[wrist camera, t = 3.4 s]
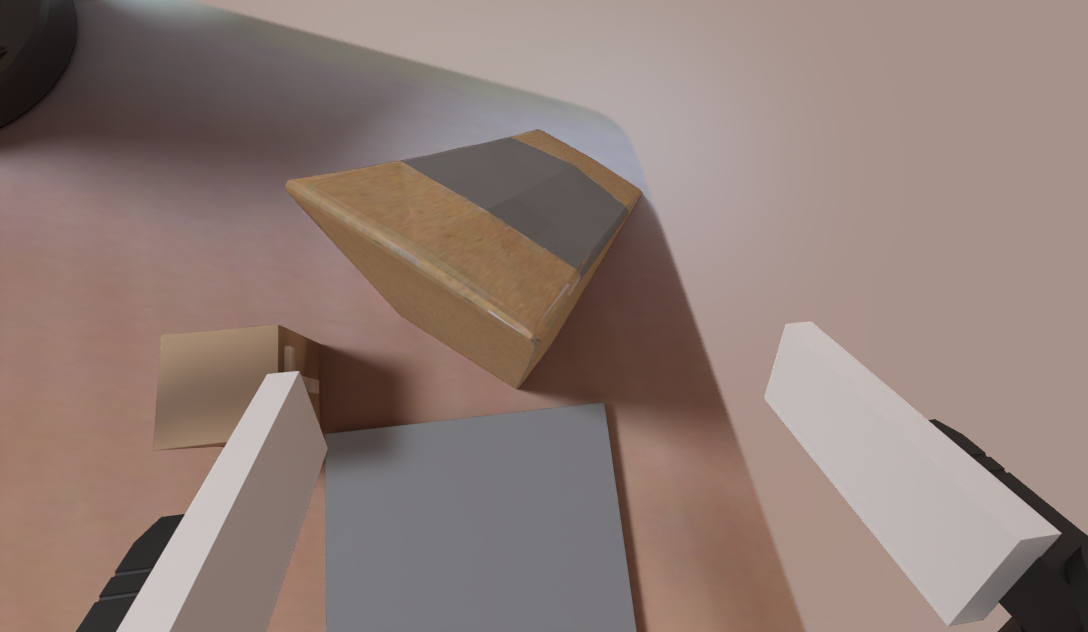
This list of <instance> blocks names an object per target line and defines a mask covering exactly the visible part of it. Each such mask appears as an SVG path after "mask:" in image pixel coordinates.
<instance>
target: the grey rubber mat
mask: <svg viewBox="0 0 1088 632" xmlns="http://www.w3.org/2000/svg"><path fill="white" fill-rule="evenodd" d="M325 442H326V445H327V447H328V449H327V452H326V455H325V502H326V632H637V631H636V624H635V617H634V610H633V603H632V596H631V589H630V582H629V574H628V567H627V560H626V553H625V546H624V539H623V532H622V525H621V518H620V511H619V504H618V497H617V490H616V483H615V476H614V469H613V462H612V455H611V447H610V440H609V433H608V426H607V419H606V412H605V405H604V402H603V403H594V404H585V405H576V406H567V407H559V408H550V409H541V410H532V411H523V412H515V413H506V414H497V415H488V416H479V417H471V418H462V419H453V420H444V421H435V422H426V423H418V424H409V425H400V426H391V427H382V428H374V429H365V430H356V431H347V432H338V433H330V434H325Z"/></svg>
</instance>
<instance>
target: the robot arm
mask: <svg viewBox="0 0 1088 632" xmlns="http://www.w3.org/2000/svg"><path fill="white" fill-rule="evenodd" d="M75 37H76V15H75V10H74V6H73V3H72V0H0V127H1V126H3V125H5V124H6V123H8V122H10V121H12V120H13V119H15V118H16V117H18V116H19V115H21V114H22V113H24V112H25V111H26V110H28V109H29V108H30V107H31V106H33V105H34V104H35V103H36V102H37V101H38V100H40V99H41V98H42V97H43V96H44V95H45V94H46V93H47V91H48V90H49V89H50V88H51V87H52V86H53V85H54V83H55V82H56V81H57V79H58V78H59V76H60V75H61V73H62V72H63V70H64V68H65V67H66V65H67V63H68V60H69V58H70V56H71V53H72V50H73V47H74V43H75ZM764 399H765V400H766V401H767V403H768V404H769V405H770V406H771V408H772V409H773V410H774V411H775V413H776V414H777V415H778V416H779V418H780V419H781V420H782V421H783V423H784V424H785V425H786V426H787V427H788V429H789V430H790V431H791V432H792V434H793V435H794V436H795V437H796V439H797V440H798V441H799V442H800V444H801V445H802V446H803V447H804V448H805V450H806V451H807V452H808V454H809V455H810V456H811V457H812V459H813V460H814V461H815V462H816V463H817V465H818V466H819V467H820V468H821V470H822V471H823V472H824V473H825V475H826V476H827V477H828V478H829V480H830V481H831V482H832V483H833V484H834V486H835V487H836V488H837V490H838V491H839V492H840V493H841V494H842V496H843V497H844V498H845V499H846V501H847V502H848V503H849V504H850V506H851V507H852V508H853V509H854V511H855V512H856V513H857V514H858V516H859V517H860V518H861V519H862V520H863V522H864V523H865V524H866V525H867V527H868V528H869V529H870V530H871V531H872V533H873V534H874V535H875V536H876V538H877V539H878V540H879V542H880V543H881V544H882V545H883V546H884V548H885V549H886V550H887V551H888V553H889V554H890V555H891V556H892V558H893V559H894V560H895V561H896V563H897V564H898V565H899V566H900V567H901V569H902V570H903V571H904V573H905V574H906V575H907V576H908V578H909V579H910V580H911V581H912V583H913V584H914V585H915V586H916V587H917V589H918V590H919V591H920V592H921V594H922V595H923V596H924V597H925V599H926V600H927V601H928V602H929V604H930V605H931V606H932V607H933V608H934V610H935V611H936V612H937V614H938V615H939V616H940V617H941V618H942V620H943V621H944V622H945V623H946V625H947V626H952V625H958V624H964V623H969V622H975V621H981V620H984V618H986V616H987V615H988V614H989V613H990V612H991V611H992V610H993V609H994V608H995V606H996V605H997V604H998V603H1000V604H1001V605H1002V606H1003V607H1004V608H1005V609H1006V610H1007V612H1008V613H1009V614H1010V615H1011V616H1012V617H1011V618H1010V619H1009V621H1007V622H1006V623H1005V625H1004V626H1003V627H1002V628H1001V629H1000V630H999V631H998V632H1088V536H1087V535H1086V534H1085V533H1083V532H1082V531H1081V530H1080V529H1078V528H1077V527H1076V526H1075V525H1073V524H1072V523H1071V522H1070V521H1068V520H1067V519H1066V518H1065V517H1063V516H1062V515H1061V514H1060V513H1059V512H1057V511H1056V510H1055V509H1054V508H1053V507H1051V506H1050V505H1049V504H1048V503H1046V502H1045V501H1044V500H1043V499H1041V498H1040V497H1039V496H1038V495H1037V494H1035V493H1034V492H1033V491H1032V490H1030V489H1029V488H1028V487H1027V486H1026V485H1024V484H1023V483H1022V482H1020V481H1019V480H1018V479H1017V478H1016V477H1014V476H1013V475H1012V474H1011V473H1006V472H1005V470H1004V468H1003V467H1002V466H1001V465H1000V464H998V463H997V462H996V461H995V460H994V459H992V458H991V457H987V456H986V455H985V452H984V451H983V450H981V449H980V448H979V447H978V446H976V445H975V444H974V443H973V442H971V441H970V440H969V439H968V438H967V437H965V436H964V435H963V434H961V433H959V432H957V431H956V430H954V429H952V428H950V427H948V426H946V425H944V424H943V423H941V422H939V421H937V420H935V419H934V420H927V419H926V418H925V417H924V416H922V415H921V414H920V413H919V412H917V411H916V410H915V409H914V408H913V407H912V406H911V405H909V404H908V403H907V402H906V401H904V400H903V399H902V398H901V397H900V396H899V395H898V394H896V393H895V392H894V391H893V390H892V389H890V388H889V387H888V386H887V385H886V384H884V383H883V382H882V381H881V380H880V379H879V378H877V377H876V376H875V375H874V374H873V373H871V372H870V371H869V370H868V369H867V368H866V367H864V366H863V365H862V364H861V363H860V362H858V361H857V360H856V359H855V358H853V357H852V356H851V355H850V354H849V353H848V352H847V351H845V350H844V349H843V348H842V347H841V346H839V345H838V344H837V343H836V342H835V341H833V340H832V339H831V338H830V337H829V336H827V334H825V333H824V332H823V331H822V330H820V329H819V328H818V327H817V326H816V325H815V324H813V323H812V322H811V321H810V322H800V323H790V324H786V325H785V329H784V332H783V335H782V339H781V342H780V345H779V349H778V352H777V356H776V359H775V362H774V366H773V369H772V373H771V376H770V380H769V383H768V386H767V389H766V393H765V396H764ZM327 449H328V447H327V445H326V442H325V439H324V437H323V434H322V431H321V428H320V426H319V423H318V420H317V418H316V415H315V412H314V409H313V407H312V404H311V401H310V399H309V396H308V393H307V390H306V388H305V385H304V382H303V380H302V377H301V374H300V372H299V371H293V372H283V373H273V374H267V375H266V377H265V379H264V381H263V382H262V384H261V386H260V387H259V389H258V391H257V392H256V394H255V396H254V398H253V399H252V401H251V403H250V404H249V406H248V408H247V410H246V411H245V413H244V415H243V416H242V418H241V420H240V421H239V423H238V425H237V427H236V428H235V430H234V432H233V433H232V435H231V437H230V439H229V440H228V442H227V444H226V445H225V447H224V449H223V450H222V452H221V454H220V456H219V457H218V459H217V461H216V462H215V464H214V466H213V468H212V469H211V471H210V473H209V474H208V476H207V478H206V479H205V481H204V483H203V485H202V486H201V488H200V490H199V491H198V493H197V495H196V496H195V498H194V500H193V502H192V503H191V505H190V507H189V508H188V510H187V512H186V514H182V515H174V516H166V517H161V518H160V519H159V520H158V521H157V522H156V523H154V524H153V525H152V526H151V527H150V528H149V529H148V530H147V531H146V532H145V533H144V534H143V535H142V536H141V537H140V538H139V539H138V540H136V541H135V542H134V544H133V545H132V547H131V548H130V550H129V551H128V553H127V554H126V556H125V557H124V559H123V560H122V562H121V563H120V565H119V566H118V568H117V570H116V571H115V576H114V577H111V579H110V580H109V582H108V583H107V585H106V586H105V588H104V589H103V591H102V592H101V594H100V596H99V597H100V599H99V601H98V602H95V603H94V605H93V606H92V608H91V609H90V611H89V612H88V614H87V615H86V617H85V618H84V620H83V622H82V623H81V625H80V626H79V628H78V629H77V631H76V632H266V630H267V627H268V624H269V621H270V618H271V615H272V612H273V609H274V606H275V603H276V600H277V597H278V594H279V591H280V588H281V585H282V582H283V580H284V577H285V574H286V571H287V568H288V565H289V562H290V559H291V556H292V553H293V550H294V547H295V544H296V541H297V538H298V535H299V532H300V529H301V526H302V523H303V520H304V517H305V514H306V511H307V508H308V505H309V502H310V499H311V496H312V493H313V491H314V488H315V485H316V482H317V479H318V476H319V473H320V470H321V467H322V464H323V461H324V458H325V455H326V452H327Z"/></svg>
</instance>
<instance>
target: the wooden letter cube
mask: <svg viewBox="0 0 1088 632" xmlns="http://www.w3.org/2000/svg"><path fill="white" fill-rule="evenodd" d="M293 371H299V372H300V374H301V377H302V380H303V382H304V385H305V388H306V390H307V393H308V396H309V399H310V401H311V404H312V407H313V409H314V412H315V415H316V418H317V420H318V423H319V426H320V380H319V343H317V342H315V341H312V340H310V339H308V338H306V337H304V336H302V335H300V334H297V333H295V332H293V331H291V330H289V329H287V328H285V327H282V326H280V325H268V326H257V327H246V328H235V329H224V330H214V331H203V332H192V333H181V334H170V335H161V342H160V357H159V372H158V386H157V401H156V416H155V430H154V445H153V450H170V449H187V448H204V447H221V446H225V445H226V444H227V442H228V440H229V439H230V437H231V435H232V433H233V432H234V430H235V428H236V427H237V425H238V423H239V421H240V420H241V418H242V416H243V415H244V413H245V411H246V410H247V408H248V406H249V404H250V403H251V401H252V399H253V398H254V396H255V394H256V392H257V391H258V389H259V387H260V386H261V384H262V382H263V381H264V379H265V377H266V375H267V374H273V373H283V372H293Z"/></svg>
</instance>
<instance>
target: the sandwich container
mask: <svg viewBox="0 0 1088 632" xmlns="http://www.w3.org/2000/svg"><path fill="white" fill-rule="evenodd" d="M285 188H286V191H287V192H288V193H289V194H290V195H291V196H292V197H293V198H294V200H295V201H296V202H297V203H298V204H299V205H300V206H301V207H302V208H303V209H304V211H305V212H306V213H307V214H308V215H309V216H310V217H311V218H312V219H313V220H314V222H315V223H316V224H317V225H318V226H319V227H320V228H321V229H322V230H323V231H324V233H325V234H326V235H327V236H328V237H329V238H330V239H331V240H332V241H333V242H334V244H335V245H336V246H337V247H338V248H339V249H340V250H341V251H342V252H343V253H344V255H345V256H346V257H347V258H348V259H349V260H350V261H351V262H352V263H353V264H354V266H355V267H356V268H357V269H358V270H359V271H360V272H361V273H362V274H363V275H364V277H365V278H366V279H367V280H368V281H369V282H370V283H371V284H372V285H373V286H374V288H375V289H376V290H377V291H378V292H379V293H380V294H381V295H382V296H383V297H384V298H385V300H386V301H387V302H388V303H389V304H390V305H391V306H392V307H393V308H394V309H395V310H396V311H397V313H398V314H399V315H400V316H402V317H403V318H405V319H406V320H408V321H410V322H411V323H413V324H414V325H416V326H417V327H419V328H420V329H422V330H424V331H425V332H427V333H428V334H430V335H431V336H433V337H435V338H436V339H438V340H439V341H441V342H442V343H444V344H446V345H447V346H449V347H450V348H452V349H453V350H455V351H456V352H458V353H460V354H461V355H463V356H464V357H466V358H467V359H469V360H471V361H472V362H474V363H475V364H477V365H479V366H480V367H482V368H483V369H485V370H486V371H488V372H490V373H491V374H493V375H494V376H496V377H498V378H499V379H501V380H502V381H504V382H506V383H507V384H509V385H510V386H512V387H513V388H515V389H517V388H519V387H520V386H521V385H522V384H523V382H524V381H525V379H526V378H527V377H528V375H529V374H530V373H531V371H532V370H533V369H534V367H535V366H536V365H537V363H538V362H539V360H540V359H541V358H542V356H543V355H544V354H545V352H546V351H547V350H548V348H549V347H550V346H551V344H552V343H553V341H554V339H555V338H556V336H557V334H558V333H559V331H560V329H561V328H562V326H563V325H564V323H565V321H566V320H567V318H568V316H569V315H570V313H571V311H572V310H573V308H574V307H575V305H576V303H577V302H578V300H579V298H580V297H581V295H582V293H583V292H584V290H585V288H586V286H587V285H588V283H589V281H590V280H591V278H592V276H593V275H594V273H595V271H596V270H597V268H598V266H599V265H600V263H601V261H602V260H603V258H604V256H605V255H606V253H607V251H608V250H609V248H610V246H611V245H612V243H613V241H614V240H615V238H616V236H617V235H618V233H619V231H620V230H621V228H622V226H623V225H624V223H625V221H626V220H627V218H628V216H629V215H630V213H631V211H632V210H633V208H634V206H635V205H636V203H637V201H638V200H639V198H640V196H641V195H642V191H641V190H640V189H638V188H637V187H635V186H634V185H632V184H631V183H629V182H628V181H626V180H624V179H623V178H621V177H620V176H618V175H617V174H615V173H614V172H612V171H611V170H609V169H607V168H606V167H604V166H603V165H601V164H600V163H598V162H597V161H595V160H593V159H592V158H590V157H588V156H587V155H585V154H583V153H581V152H579V151H578V150H576V149H574V148H572V147H570V146H569V145H567V144H565V143H563V142H561V141H560V140H558V139H556V138H554V137H552V136H551V135H549V134H547V133H545V132H543V131H542V130H538V129H537V130H533V131H530V132H526V133H523V134H519V135H516V136H512V137H508V138H504V139H499V140H495V141H491V142H487V143H483V144H478V145H473V146H468V147H462V148H457V149H453V150H449V151H445V152H441V153H436V154H432V155H427V156H422V157H417V158H412V159H406V160H401V161H395V162H390V163H385V164H380V165H374V166H369V167H364V168H358V169H352V170H346V171H341V172H335V173H329V174H323V175H317V176H311V177H305V178H298V179H291V180H288V181H287V183H286V185H285Z"/></svg>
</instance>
